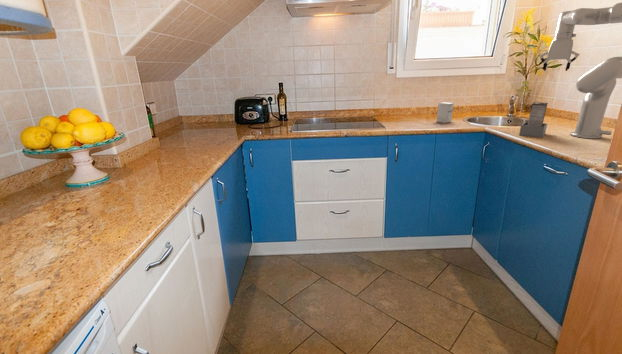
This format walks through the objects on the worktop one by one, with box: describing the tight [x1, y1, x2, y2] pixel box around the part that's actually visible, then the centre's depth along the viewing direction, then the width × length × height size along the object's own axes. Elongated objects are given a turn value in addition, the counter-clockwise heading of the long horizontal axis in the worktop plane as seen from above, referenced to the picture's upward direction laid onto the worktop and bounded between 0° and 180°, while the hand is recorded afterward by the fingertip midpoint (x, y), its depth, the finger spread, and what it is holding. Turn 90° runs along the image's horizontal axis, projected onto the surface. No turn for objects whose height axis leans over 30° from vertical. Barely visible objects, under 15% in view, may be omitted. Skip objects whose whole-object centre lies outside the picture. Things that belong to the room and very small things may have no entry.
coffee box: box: [527, 101, 548, 127], centre depth 165 cm, size 9×6×16 cm
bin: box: [518, 121, 548, 138], centre depth 168 cm, size 10×13×6 cm
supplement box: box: [435, 101, 455, 124], centre depth 209 cm, size 7×7×13 cm
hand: (555, 70), depth 172 cm, fingers open, 9 cm apart
